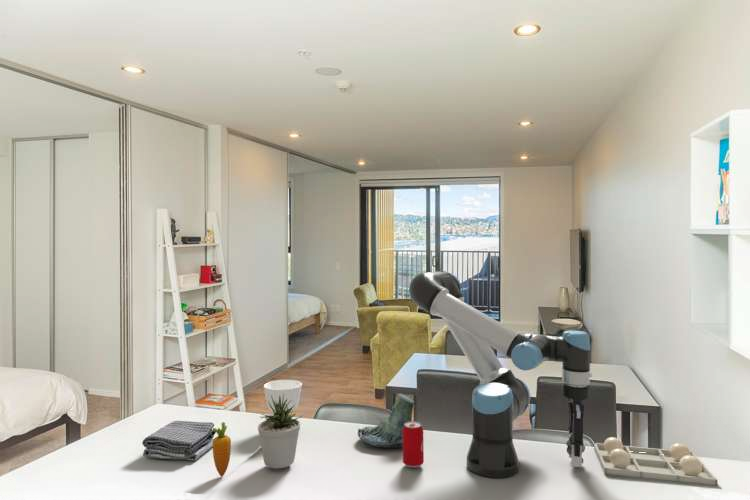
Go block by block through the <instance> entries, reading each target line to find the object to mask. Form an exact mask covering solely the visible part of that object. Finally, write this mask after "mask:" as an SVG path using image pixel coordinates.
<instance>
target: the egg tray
mask: <svg viewBox="0 0 750 500" xmlns="http://www.w3.org/2000/svg"><path fill="white" fill-rule="evenodd" d="M593 450H594V452H595V455H596V457H597V459H598V462H599V465H600V467H601V469H602V472H603V475H605V476H610V477H611V476H612V477H621V478H630V479H639V480H651V481H661V482H662V481H663V482H671V483H683V484H692V485H693V484H694V485H702V486H703V485H705V486H713V487H718V478H717V477H715V476H714V475H713V473H712V472H711V471H710V470H709V468H707V466H706V465H705V464H704V462H702V461H701V460H700V459H699V457H698V456H697V455H696V454H695V453H694V452H693V451H690V454H691V456H694V457H696V458H697V459H698V460H699V461H700V462H701V465H702V471H701V473H700V474H699V475H697V476H689V475H687V474H685V473H684V472H683V471H682V470H681V468H680V465H679V462H677V461H675V460H674V459H673V458H672V457H671V455H670V452H669V450H670V449H665V448H663V449H662V448H656V447H655V448H654V447H653V448H652V447H643V446H641V447H640V446H633V445H623V450H624V451H626V452H627V453H628V455H629V457H630V464H629V466H628V467H626V468H624V469H620V468H617V467H615V466H614V465H613V464H612V463H611V461H610V454H608V453H607V452H606V450H605V448H604V443H601V442H593ZM630 451H633V452H630ZM639 452H646V453H639ZM663 454H664V455H663Z"/></svg>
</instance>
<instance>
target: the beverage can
mask: <svg viewBox="0 0 750 500" xmlns="http://www.w3.org/2000/svg"><path fill="white" fill-rule="evenodd" d="M424 449H425V448H424V428H423V426H422V423H421V422H419V421H416V420H415V421H413V420H412V421H409V422H406V423H405V424H404V427H403V447H402V463H403V464H404V465H405V466H406V467H408V468H419V467H421V466H422V465H423V464H424V460H425V459H424V457H425V456H424V451H425V450H424Z"/></svg>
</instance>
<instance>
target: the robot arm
mask: <svg viewBox="0 0 750 500" xmlns="http://www.w3.org/2000/svg"><path fill="white" fill-rule="evenodd" d="M408 291H409V293H408V294H409V297H410V298H411V301H412V302H413V303H414V304H415V305H416V306H417V307H419V308H420V309H421V310H422V311H424V312H425V313H428V314H429V315H432V316H437V317H440V318H442V320H443V321H444V323H445V325H446V327H447V328H448V330H449V332H451V334H452V336H453V338H454V339H455V341H456V342H457V344H458V346H459V347H460V349H461V351H462V352H463V354H464V355H465V357H466V359H467V360H468V362H469V364H470V365H471V367H472V368H473V371H474V372H475V374H476V375H477V377H478V379H479V384H478V385H477V386H476V387H474V389H473V390H472V397H471V405H472V407H471V411H472V412H471V414H472V415H471V416H472V417H471V419H472V420H471V421H472V423H471V424H472V428H471V429H472V438H471V443H470V445H469V448H468V451H467V455H466V466H467V468H468V469H469V470H470V471H471V472H473V473H474V474H478V475H481V476H483V477H484V476H485V477H488V478H508V477H512V476H514V475H516V474H517V473H518V472H519V470H520V461H519V457H518V454H517V451H516V448H515V445H514V442H513V441H514V440H513V439H514V438H513V437H514V436H513V427H514V426H513V422H514V421H515V420H516V419H518V417H520V416H522V415H523V414H524V413H525V412H526V410H527V409H528V407H529V405H530V402H531V393H530V389H529V387H528V385H527V384H526V383H525V382H524V381H523V380H522V379H520V378H518V377H516V376H515V374H514V373H513V371H512V370H511V369H510V368H509V367H504V366H503V365H502V363H501V361H500V359H499V358H498V357H497V355H496V354H495V352H494V350H493V349H495V350H496V351H497V352H499V353H501V354H503V355H505V356H506V357H507V358H510V359H511V362H512V364H513V365H514V366H515V367H516V368H517V369H519V370H521V371H531V370H533V369H534V370H535V369H536V368H538V367H539V366H540V365H541V364H543V363H544V362H546V361H550V362H556V363H557V362H558V363H562V368H561V369H562V371H561V374H562V375H561V381H562V382H563V383H562V384H561V387H562V388H561V390H562V391H561V393H562V396H563V397H564V398H566V399H567V400H568V401H567V407H568V411H567V412H568V427H567V428H568V429H567V430H568V434H569V436H570V433H572V442H570V444H571V445H572V450H571V455H570V454H568V458H569V459H571V462H570V463H571V465H570V466H571V467H575V468H582V467H583V466H582V465H583V464H582V458H583V455H582V454H583V453H582V446H583V444H584V414H585V413H584V410H585V409H584V408H585V406H584V404H583V402H582V401H586V400H589V399H590V395H591V392H590V388H591V387H590V379H591V377H592V376H593V374H592V373H590V372H591V368H590V367H591V344H590V342H591V341H590V339H591V338H590V335H589V333H587V332H586V331H582V330H572V329H571V330H570V329H569V330H565V331H563V333H562V335H561V336H554V335H548V334H538V333H525V334H520V332H517V331H516V330H514V329H512V328H510V327H508V326H507V325H505V324H504V323H501V322H500V321H498V320H496V319H495V318H493V317H491V316H489V315H487V314H485V313H483V312H482V311H480V310H479V309H476V308H475V307H473V306H471V305H470V304H468V303H466V302H465V296H464V295H463V293H462V285H461V282H460V280H459V279H458V277H457V276H456V275H455V274H453V273H451V272H449V271H446V270H435V271H430V272H429V271H428V272H421V273H418V274H417V275H415V277H413V279H411V282H410V284H409V287H408ZM492 348H493V349H492ZM569 436H568V437H569Z"/></svg>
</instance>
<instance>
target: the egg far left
mask: <svg viewBox="0 0 750 500" xmlns="http://www.w3.org/2000/svg"><path fill="white" fill-rule="evenodd" d="M603 444H604V448H605V450H606V452H607V453H608V454H610V453H611V451H612V450H614V449H622V450H623V446H624V445H623V442H622V441H621V439H619V438H617V437H614V436H610V437H606V439H605V440H604V442H603Z"/></svg>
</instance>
